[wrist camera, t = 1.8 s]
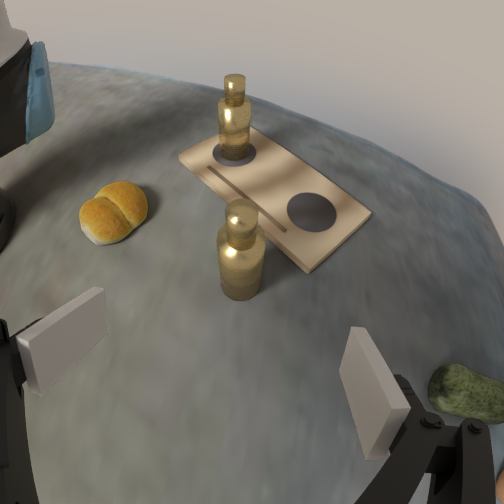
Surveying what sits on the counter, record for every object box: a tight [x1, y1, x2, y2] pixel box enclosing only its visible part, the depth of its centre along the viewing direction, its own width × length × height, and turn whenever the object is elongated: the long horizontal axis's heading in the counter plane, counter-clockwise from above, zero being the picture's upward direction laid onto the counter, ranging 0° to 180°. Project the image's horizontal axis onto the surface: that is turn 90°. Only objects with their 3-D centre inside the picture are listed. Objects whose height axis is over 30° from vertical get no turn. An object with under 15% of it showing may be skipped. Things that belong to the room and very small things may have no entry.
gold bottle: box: [218, 74, 251, 161], centre depth 36 cm, size 4×4×12 cm
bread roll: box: [79, 181, 148, 246], centre depth 35 cm, size 8×9×4 cm
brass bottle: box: [217, 198, 266, 301], centre depth 27 cm, size 4×4×12 cm
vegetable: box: [428, 363, 504, 425], centre depth 23 cm, size 14×5×5 cm, turn 64°
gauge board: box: [178, 127, 371, 274], centre depth 39 cm, size 24×12×1 cm, turn 43°
